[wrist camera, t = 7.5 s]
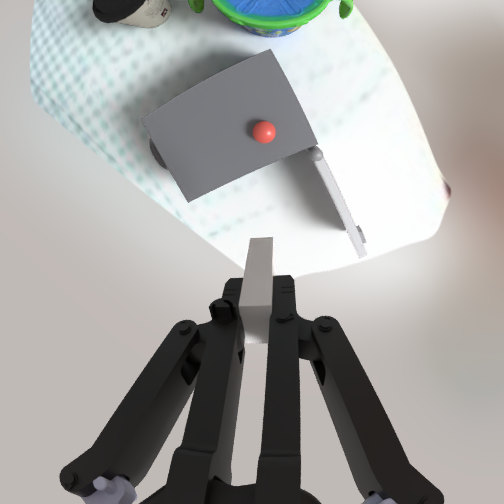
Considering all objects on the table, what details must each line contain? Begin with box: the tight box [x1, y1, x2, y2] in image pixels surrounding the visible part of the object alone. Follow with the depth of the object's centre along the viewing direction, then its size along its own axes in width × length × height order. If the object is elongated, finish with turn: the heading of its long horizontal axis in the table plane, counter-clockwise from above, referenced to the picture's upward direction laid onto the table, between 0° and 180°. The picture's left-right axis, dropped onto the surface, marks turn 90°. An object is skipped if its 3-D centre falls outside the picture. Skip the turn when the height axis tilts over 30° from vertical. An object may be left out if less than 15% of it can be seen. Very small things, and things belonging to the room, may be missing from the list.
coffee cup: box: [93, 0, 171, 28], centre depth 17 cm, size 7×7×10 cm
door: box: [306, 145, 367, 258], centre depth 29 cm, size 2×13×6 cm, turn 30°
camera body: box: [141, 49, 318, 202], centre depth 26 cm, size 10×15×8 cm, turn 116°
